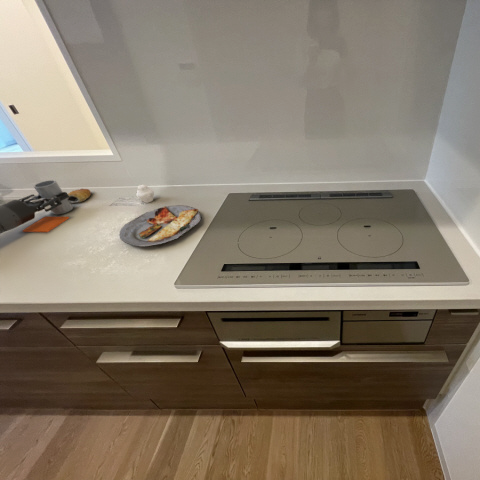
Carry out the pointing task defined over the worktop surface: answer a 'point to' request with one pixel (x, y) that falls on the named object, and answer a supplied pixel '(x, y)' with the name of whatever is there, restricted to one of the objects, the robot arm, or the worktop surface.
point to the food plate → (160, 225)
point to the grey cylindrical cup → (51, 190)
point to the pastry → (79, 195)
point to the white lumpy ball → (145, 193)
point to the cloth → (45, 224)
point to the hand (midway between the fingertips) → (59, 193)
